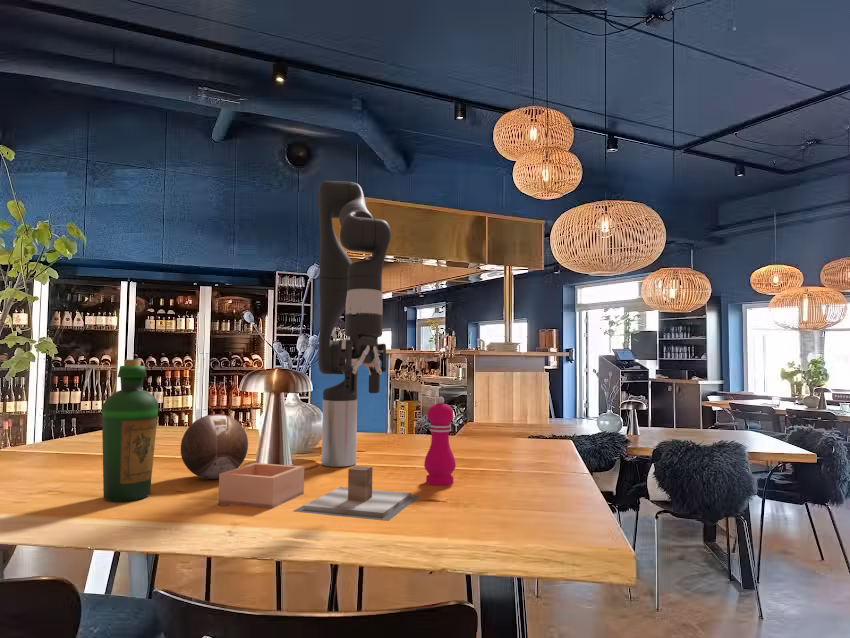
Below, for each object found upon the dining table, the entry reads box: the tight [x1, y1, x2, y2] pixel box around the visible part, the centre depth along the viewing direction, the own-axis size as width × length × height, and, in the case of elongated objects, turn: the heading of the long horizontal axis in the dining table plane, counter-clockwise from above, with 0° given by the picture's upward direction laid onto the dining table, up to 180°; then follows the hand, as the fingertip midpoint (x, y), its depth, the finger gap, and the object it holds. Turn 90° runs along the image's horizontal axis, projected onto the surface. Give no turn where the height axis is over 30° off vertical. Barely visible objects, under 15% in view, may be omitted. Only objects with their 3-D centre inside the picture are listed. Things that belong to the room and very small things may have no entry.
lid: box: [304, 465, 412, 518], centre depth 114 cm, size 16×16×7 cm
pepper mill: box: [423, 396, 456, 487], centre depth 133 cm, size 7×7×20 cm
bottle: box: [101, 359, 160, 503], centre depth 118 cm, size 11×11×28 cm
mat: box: [293, 494, 421, 522], centre depth 113 cm, size 19×19×1 cm
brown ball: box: [180, 413, 249, 480], centre depth 137 cm, size 15×15×15 cm
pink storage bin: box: [217, 462, 305, 509], centre depth 117 cm, size 12×12×6 cm
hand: (362, 393), depth 116 cm, fingers open, 8 cm apart
